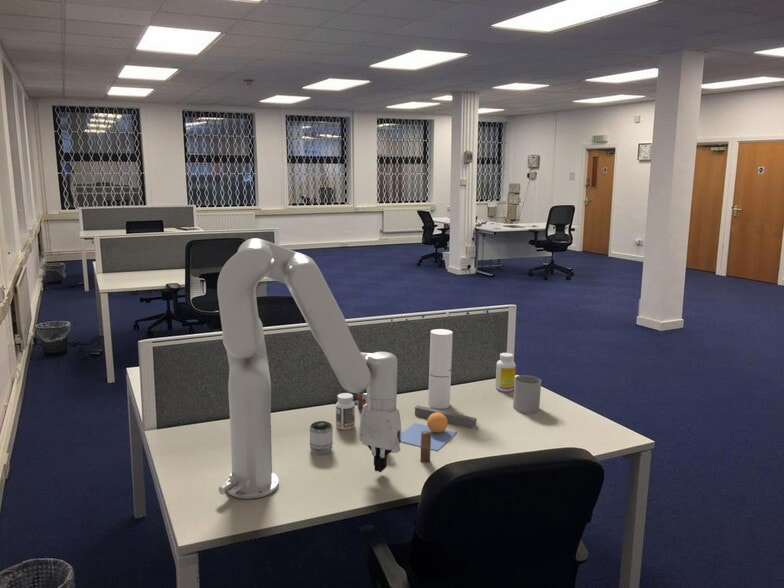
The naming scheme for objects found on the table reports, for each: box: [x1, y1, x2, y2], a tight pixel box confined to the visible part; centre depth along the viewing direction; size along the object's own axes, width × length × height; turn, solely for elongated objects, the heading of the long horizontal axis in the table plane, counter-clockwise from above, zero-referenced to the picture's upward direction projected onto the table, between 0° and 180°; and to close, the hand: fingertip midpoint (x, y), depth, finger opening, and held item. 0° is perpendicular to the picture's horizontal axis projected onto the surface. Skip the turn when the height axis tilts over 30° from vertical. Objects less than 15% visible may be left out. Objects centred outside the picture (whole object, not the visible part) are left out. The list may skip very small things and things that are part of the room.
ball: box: [426, 412, 449, 433], centre depth 187 cm, size 6×6×6 cm
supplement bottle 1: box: [357, 388, 367, 411], centre depth 204 cm, size 6×6×11 cm
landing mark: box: [401, 422, 458, 452], centre depth 185 cm, size 14×14×1 cm
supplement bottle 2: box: [495, 352, 517, 393], centre depth 224 cm, size 7×7×13 cm
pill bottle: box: [335, 392, 356, 431], centre depth 190 cm, size 6×6×10 cm
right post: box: [420, 431, 431, 464], centre depth 169 cm, size 3×3×8 cm
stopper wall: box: [414, 405, 478, 429], centre depth 196 cm, size 2×20×2 cm, turn 62°
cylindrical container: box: [427, 328, 454, 410], centre depth 207 cm, size 7×7×25 cm
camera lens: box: [309, 420, 334, 456], centre depth 174 cm, size 6×6×8 cm
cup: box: [512, 374, 542, 414], centre depth 207 cm, size 8×8×10 cm
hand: (380, 469), depth 161 cm, fingers closed
